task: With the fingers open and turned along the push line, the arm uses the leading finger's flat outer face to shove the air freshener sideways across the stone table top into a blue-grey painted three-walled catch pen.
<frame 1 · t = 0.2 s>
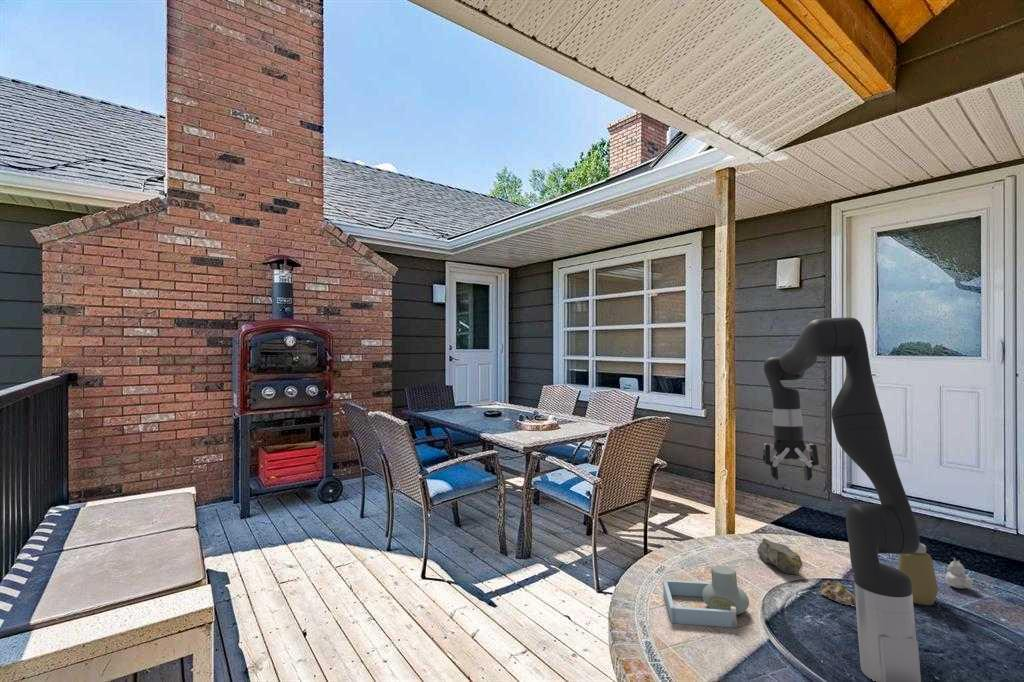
hand: (791, 479, 138), 29 cm above the table, fingers open, 8 cm apart
squeeze bottle: (918, 601, 123), on the table
rock: (779, 566, 147), on the table
air freshener: (725, 610, 121), on the table
rubber duck: (960, 589, 129), on the table
catch pen: (695, 608, 122), on the table
mineral rock: (839, 599, 125), on the table
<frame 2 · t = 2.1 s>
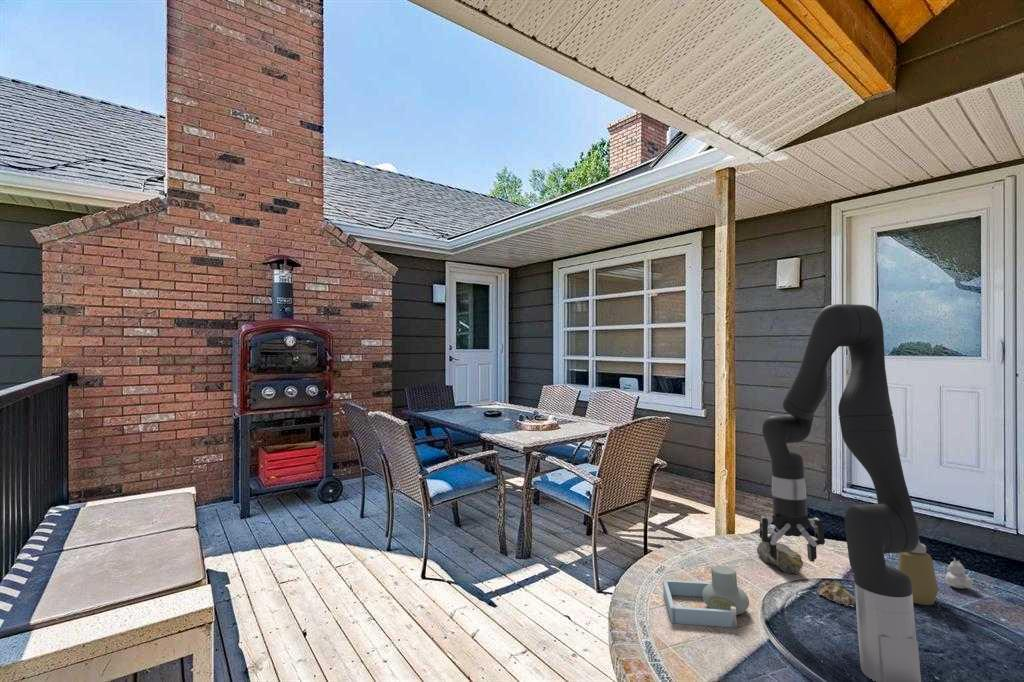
hand: (792, 559, 119), 13 cm above the table, fingers open, 8 cm apart
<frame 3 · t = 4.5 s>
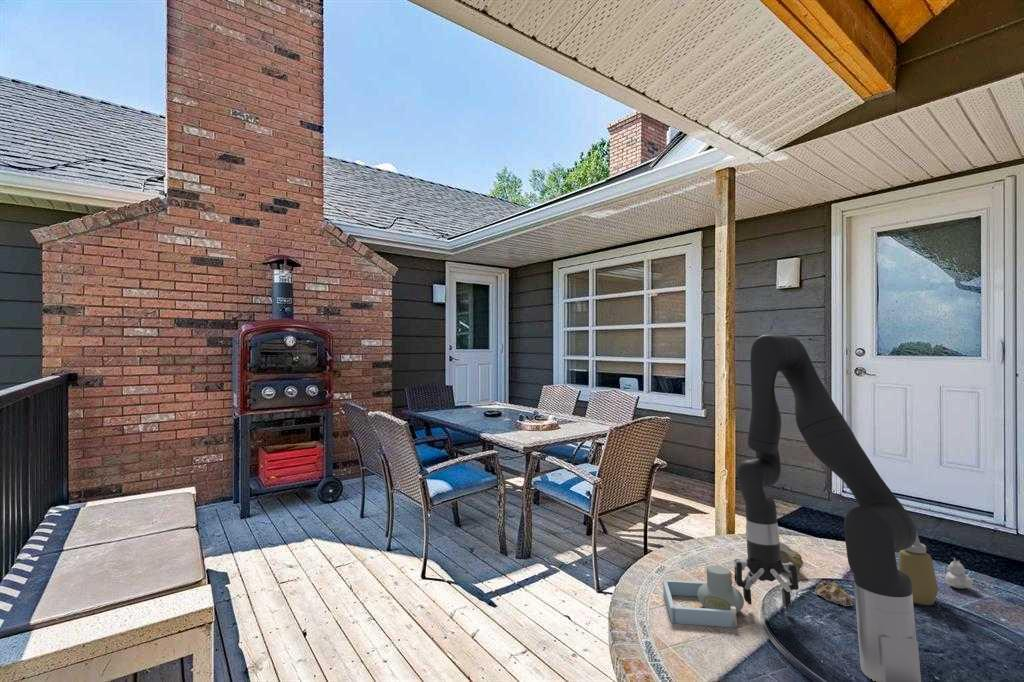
hand: (767, 604, 119), 2 cm above the table, fingers open, 8 cm apart
air freshener: (720, 610, 121), on the table, touching gripper
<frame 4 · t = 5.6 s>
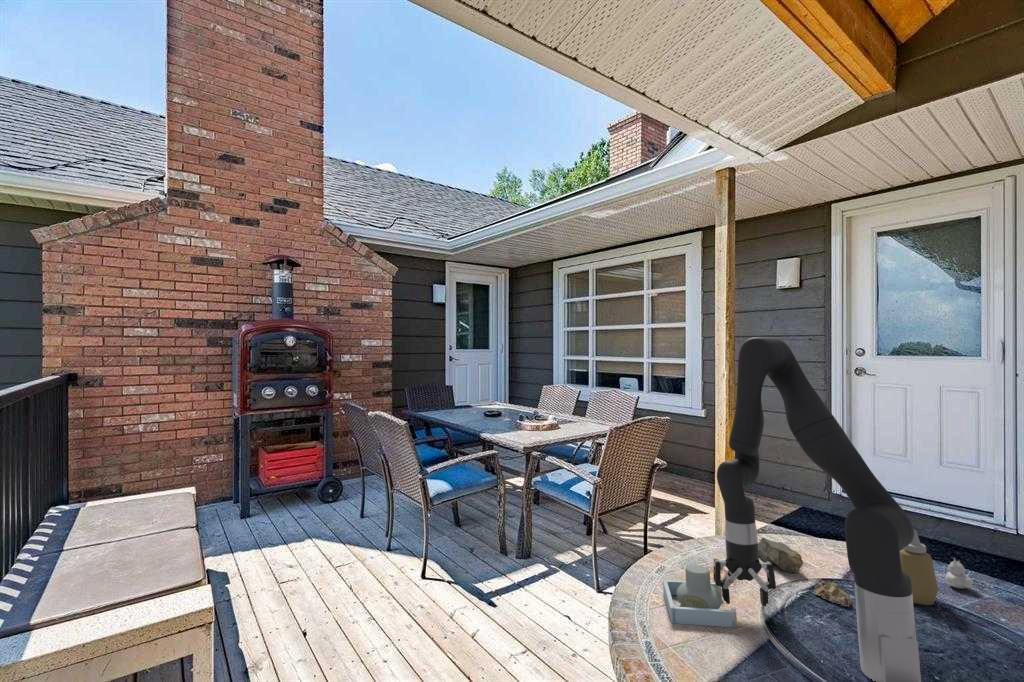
hand: (745, 603, 120), 2 cm above the table, fingers open, 8 cm apart
air freshener: (699, 609, 122), on the table, touching gripper
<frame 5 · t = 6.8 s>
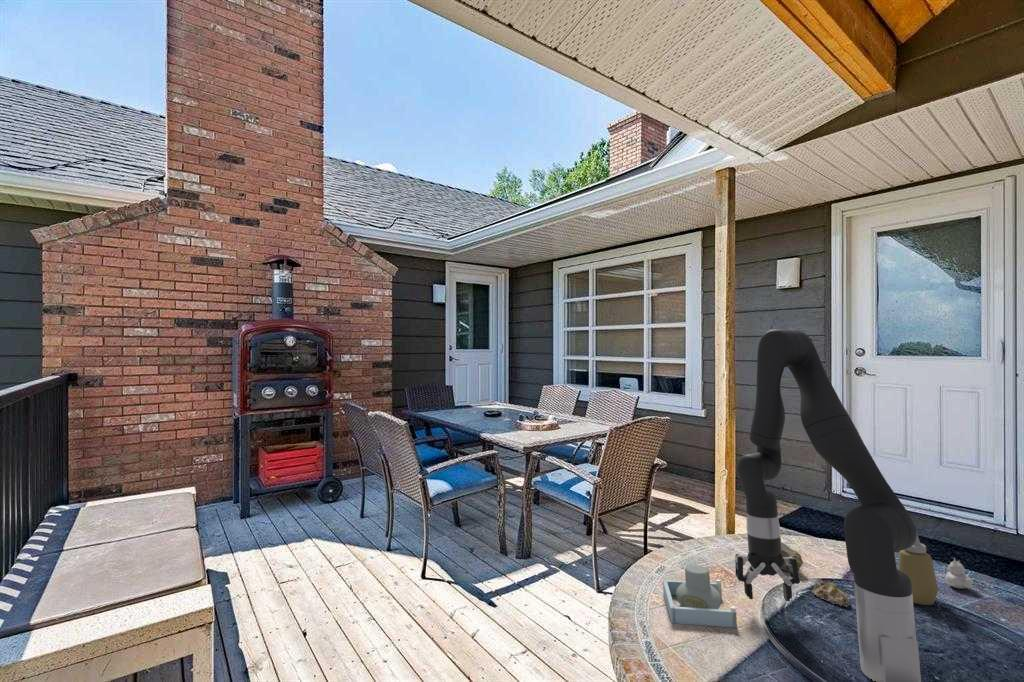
hand: (768, 598, 118), 4 cm above the table, fingers open, 8 cm apart
air freshener: (699, 609, 122), on the table
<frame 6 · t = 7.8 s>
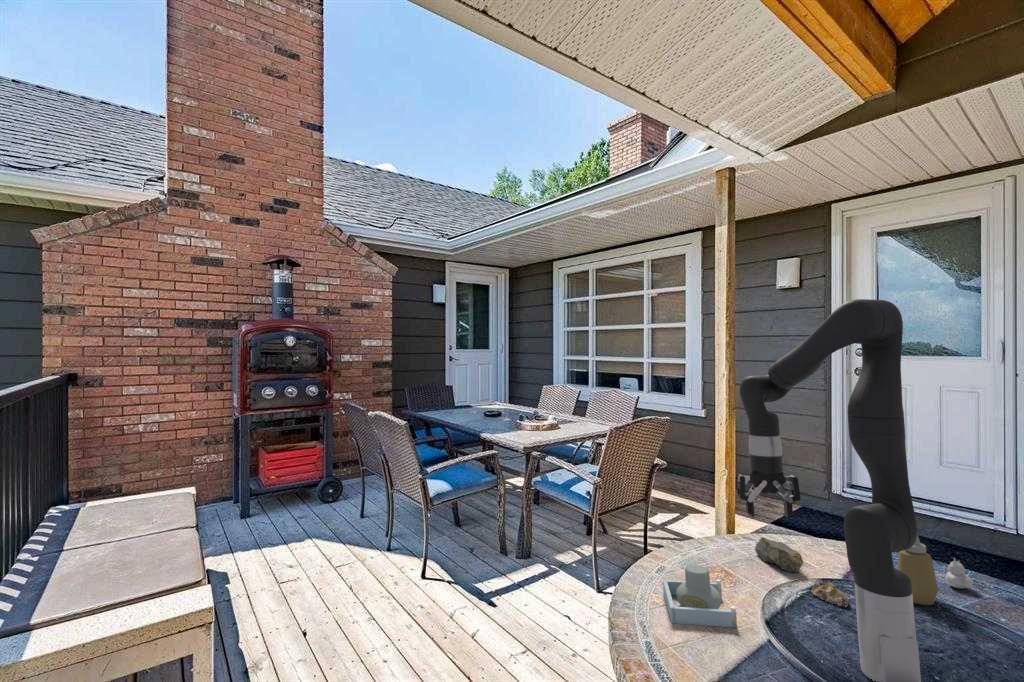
hand: (769, 516, 121), 24 cm above the table, fingers open, 8 cm apart
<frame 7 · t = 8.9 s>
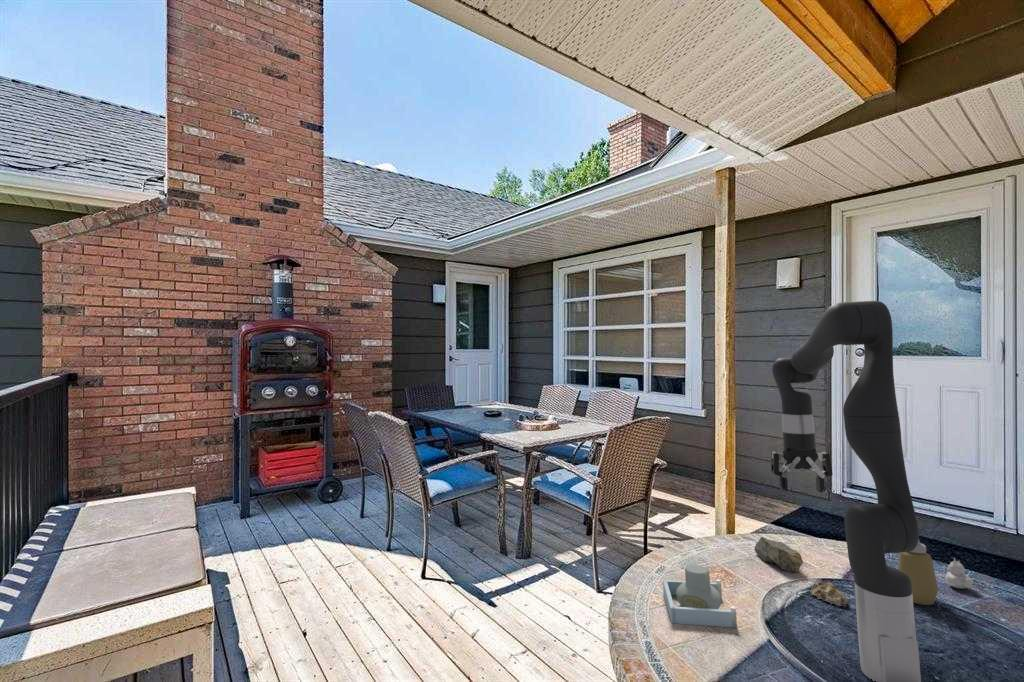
hand: (802, 491, 127), 28 cm above the table, fingers open, 8 cm apart
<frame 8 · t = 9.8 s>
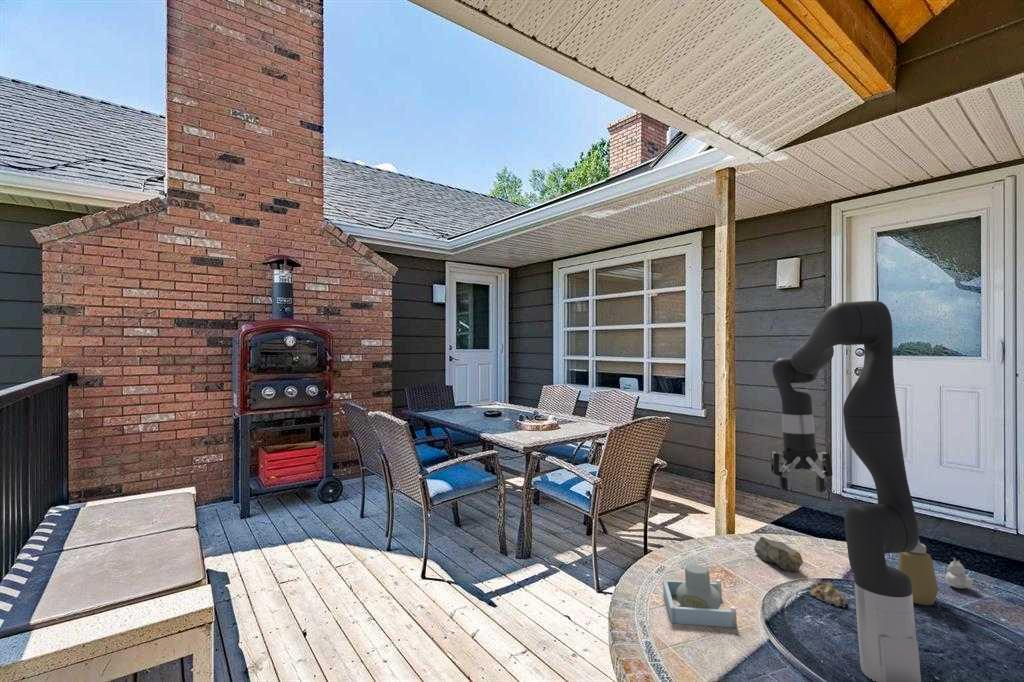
hand: (802, 491, 127), 28 cm above the table, fingers open, 8 cm apart
at the end: air freshener inside the target area on the catch pen (0.7 cm from its centre), point 0.0 cm above the catch pen's base; air freshener moved 6.6 cm from its start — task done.
